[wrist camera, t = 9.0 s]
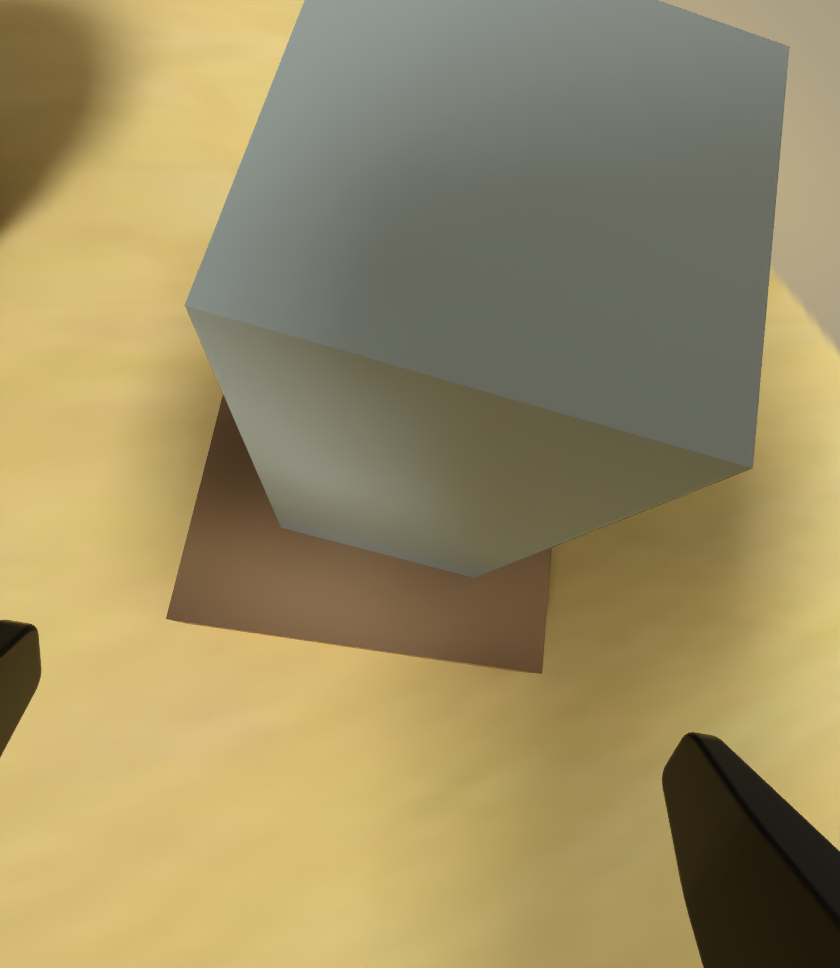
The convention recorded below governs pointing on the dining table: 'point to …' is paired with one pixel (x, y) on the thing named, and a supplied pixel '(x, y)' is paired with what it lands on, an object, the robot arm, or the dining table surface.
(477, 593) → the walnut block
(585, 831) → the dining table surface
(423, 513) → the slate block
